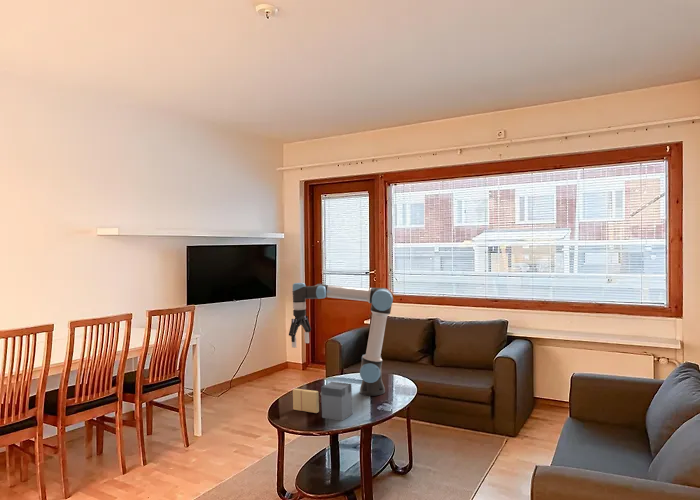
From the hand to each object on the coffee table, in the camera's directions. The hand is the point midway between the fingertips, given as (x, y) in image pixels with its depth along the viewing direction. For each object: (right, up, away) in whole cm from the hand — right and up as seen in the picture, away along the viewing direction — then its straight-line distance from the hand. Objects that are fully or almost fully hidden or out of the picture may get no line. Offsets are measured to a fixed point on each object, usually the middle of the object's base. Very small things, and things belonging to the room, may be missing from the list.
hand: (300, 345), depth 294 cm
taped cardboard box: (+5, -31, -22) cm, 39 cm away
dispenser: (+22, -31, -31) cm, 49 cm away
